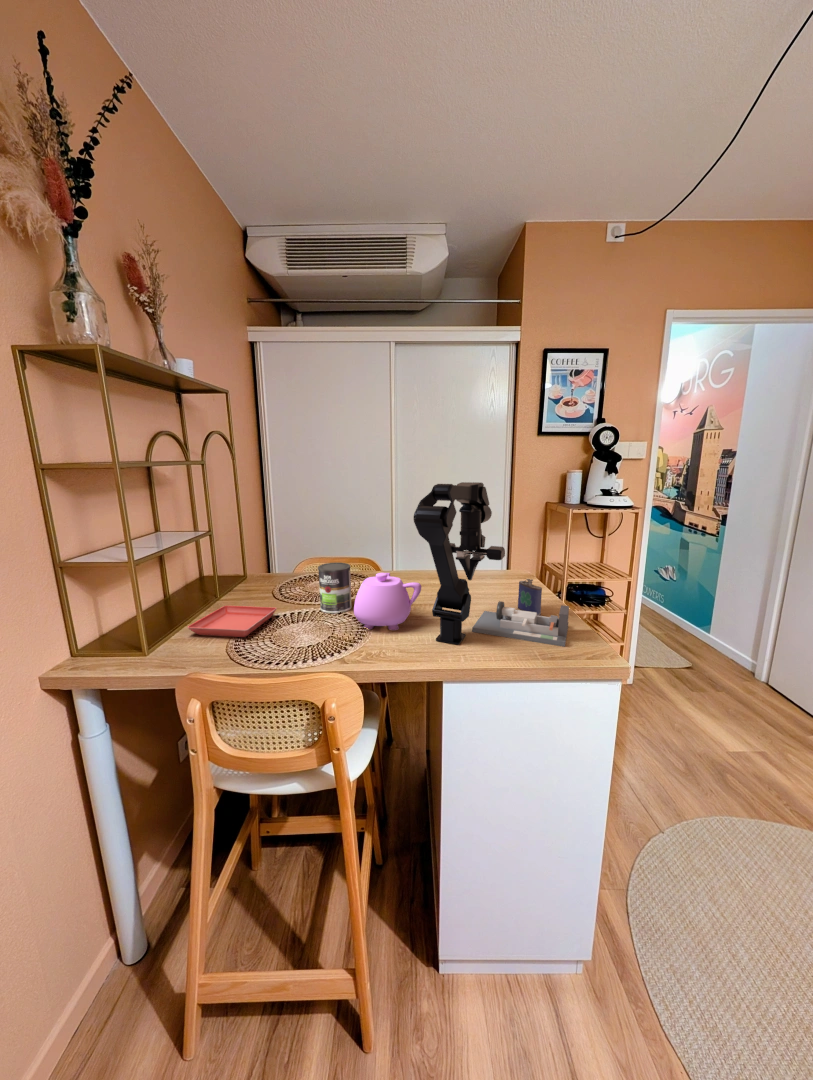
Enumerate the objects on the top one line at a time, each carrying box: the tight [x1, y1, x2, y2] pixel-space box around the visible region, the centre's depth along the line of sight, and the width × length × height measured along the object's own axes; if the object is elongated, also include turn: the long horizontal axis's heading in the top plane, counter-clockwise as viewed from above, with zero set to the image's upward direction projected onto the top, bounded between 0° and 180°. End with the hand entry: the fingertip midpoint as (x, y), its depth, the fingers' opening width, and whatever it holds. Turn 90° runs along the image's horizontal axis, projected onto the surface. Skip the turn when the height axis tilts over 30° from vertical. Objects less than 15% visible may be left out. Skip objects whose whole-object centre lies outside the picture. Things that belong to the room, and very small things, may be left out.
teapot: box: [353, 572, 422, 631], centre depth 119 cm, size 20×20×15 cm
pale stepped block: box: [495, 600, 537, 626], centre depth 111 cm, size 10×9×6 cm
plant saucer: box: [187, 605, 278, 638], centre depth 118 cm, size 18×18×3 cm
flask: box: [517, 578, 543, 616], centre depth 125 cm, size 9×3×11 cm, turn 25°
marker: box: [549, 614, 559, 630], centre depth 107 cm, size 2×9×3 cm, turn 155°
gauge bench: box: [471, 604, 570, 647], centre depth 112 cm, size 24×14×7 cm, turn 65°
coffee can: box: [317, 562, 352, 614], centre depth 131 cm, size 10×10×14 cm
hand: (470, 579), depth 117 cm, fingers closed
